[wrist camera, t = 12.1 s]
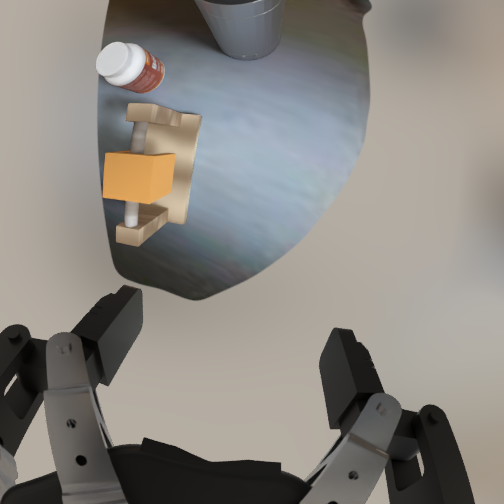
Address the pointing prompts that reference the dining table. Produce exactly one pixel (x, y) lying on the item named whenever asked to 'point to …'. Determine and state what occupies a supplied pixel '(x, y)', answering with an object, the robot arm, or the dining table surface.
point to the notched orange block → (138, 176)
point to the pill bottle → (130, 67)
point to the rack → (184, 146)
